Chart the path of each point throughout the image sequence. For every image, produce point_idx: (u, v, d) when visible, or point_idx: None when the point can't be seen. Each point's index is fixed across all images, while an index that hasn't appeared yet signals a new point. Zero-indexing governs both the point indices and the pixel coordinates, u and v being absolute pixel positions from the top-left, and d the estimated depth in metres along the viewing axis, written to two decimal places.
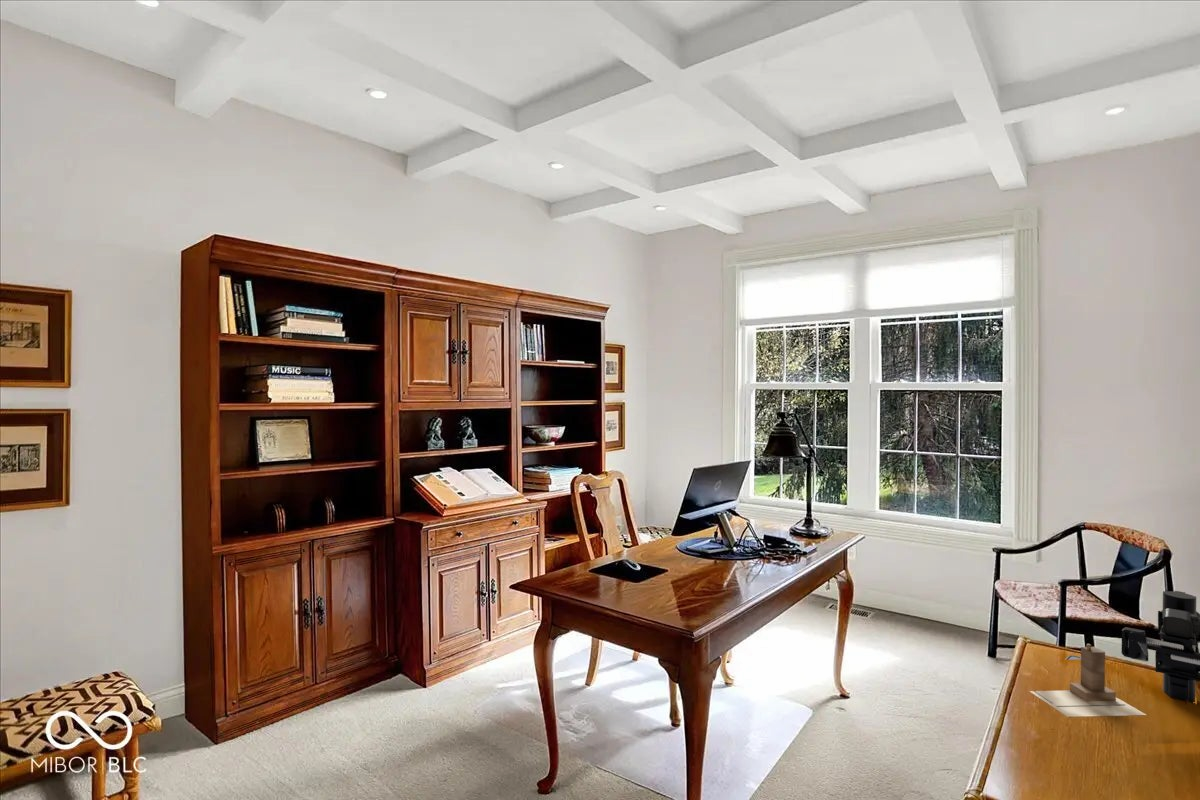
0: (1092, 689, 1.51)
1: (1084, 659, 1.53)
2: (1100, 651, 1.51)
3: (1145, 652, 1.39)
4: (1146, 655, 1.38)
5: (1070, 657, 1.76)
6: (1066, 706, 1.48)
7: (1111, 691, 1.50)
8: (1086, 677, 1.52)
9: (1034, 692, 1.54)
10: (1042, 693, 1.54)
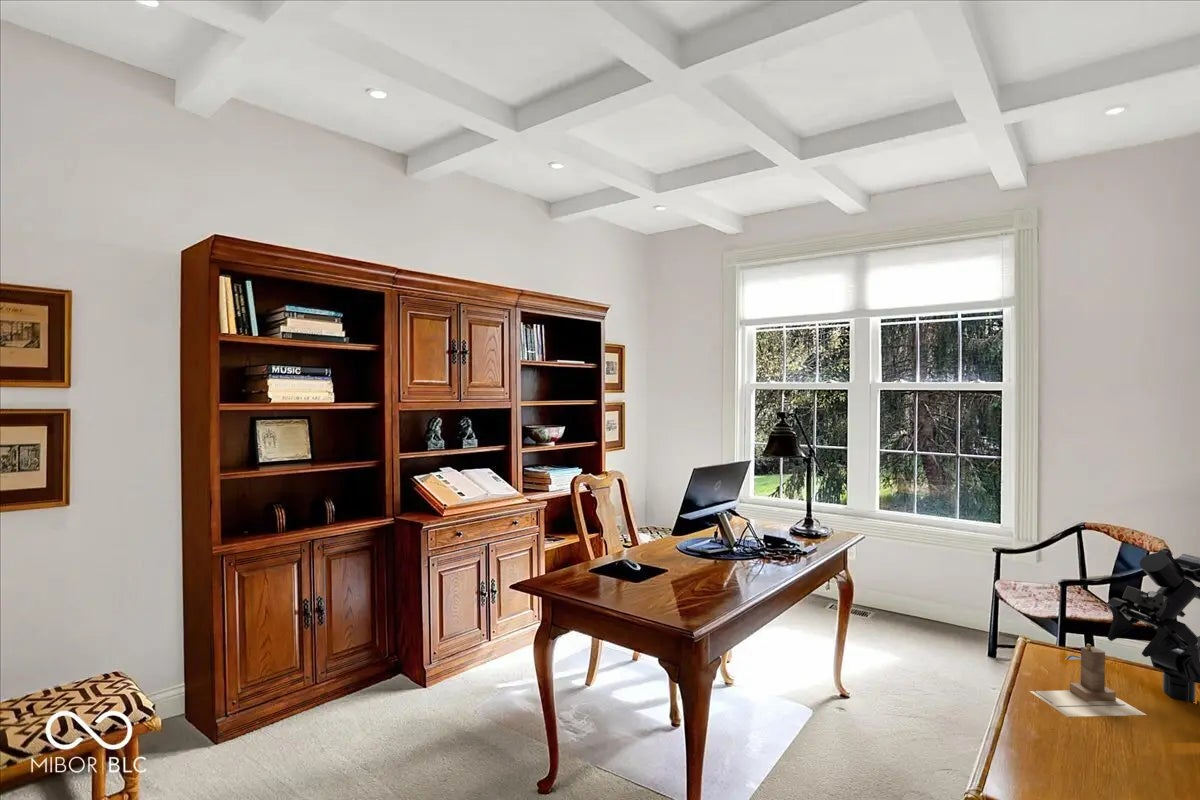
0: (1092, 689, 1.51)
1: (1084, 659, 1.53)
2: (1100, 651, 1.51)
3: (1109, 632, 1.57)
4: (1108, 637, 1.57)
5: (1070, 657, 1.76)
6: (1066, 706, 1.48)
7: (1111, 691, 1.50)
8: (1086, 677, 1.52)
9: (1034, 692, 1.54)
10: (1042, 693, 1.54)
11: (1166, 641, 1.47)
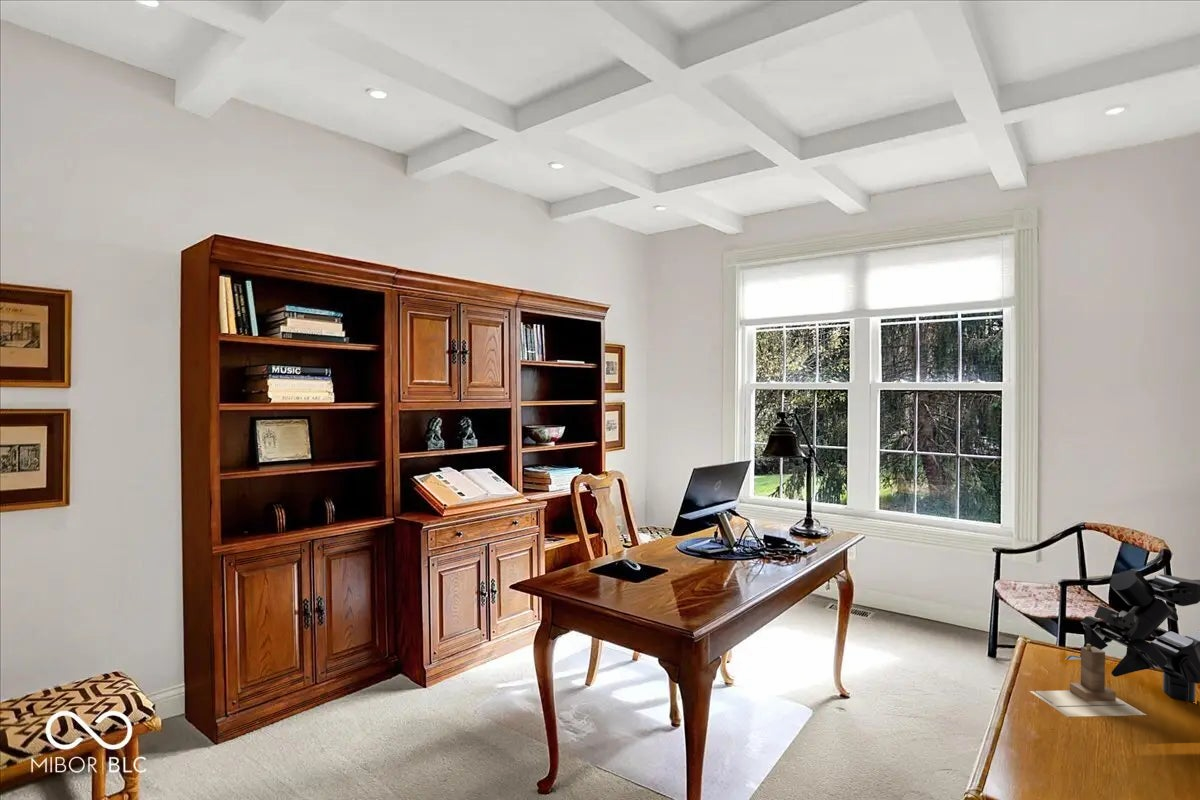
0: (1092, 689, 1.51)
1: (1084, 659, 1.53)
2: (1100, 651, 1.51)
3: None
4: (1080, 655, 1.57)
5: (1070, 657, 1.76)
6: (1066, 706, 1.48)
7: (1111, 691, 1.50)
8: (1086, 677, 1.52)
9: (1034, 692, 1.54)
10: (1042, 693, 1.54)
11: (1136, 661, 1.47)
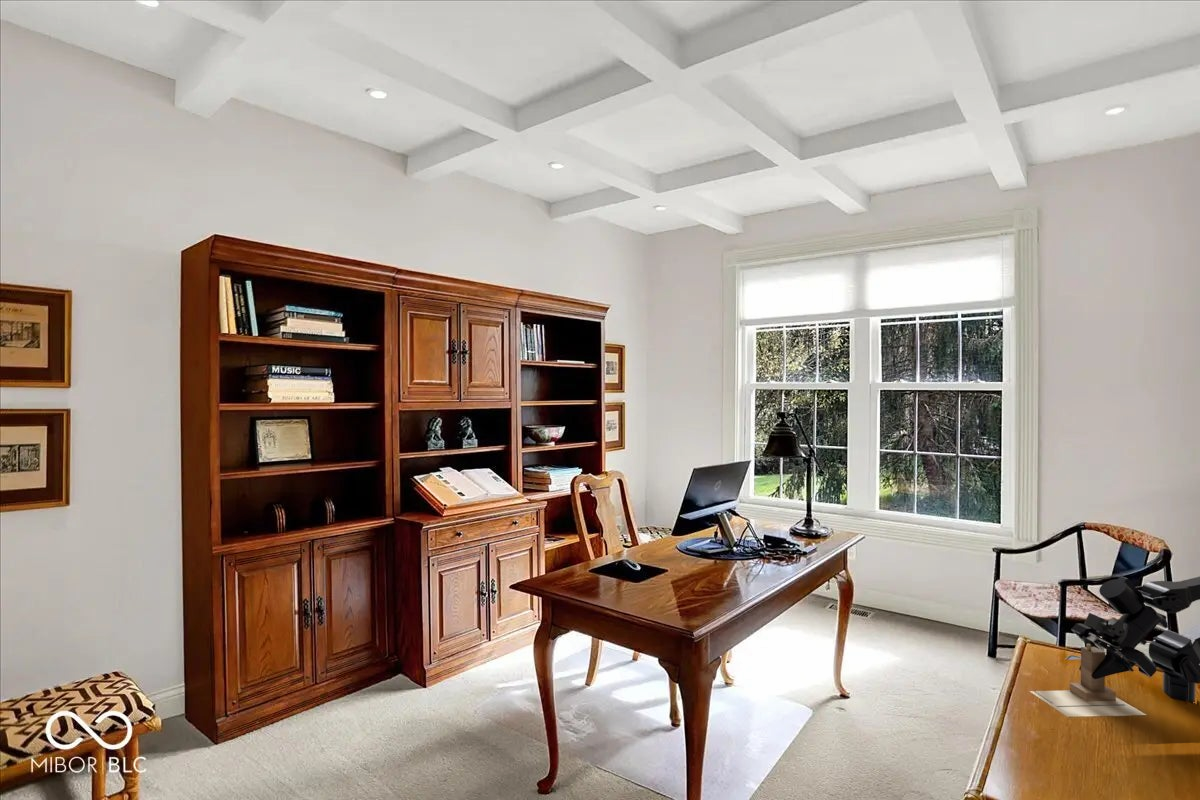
0: (1092, 689, 1.51)
1: (1084, 659, 1.53)
2: (1100, 651, 1.51)
3: None
4: (1080, 668, 1.54)
5: (1070, 657, 1.76)
6: (1066, 706, 1.48)
7: (1111, 691, 1.50)
8: (1086, 677, 1.52)
9: (1034, 692, 1.54)
10: (1042, 693, 1.54)
11: (1115, 664, 1.49)
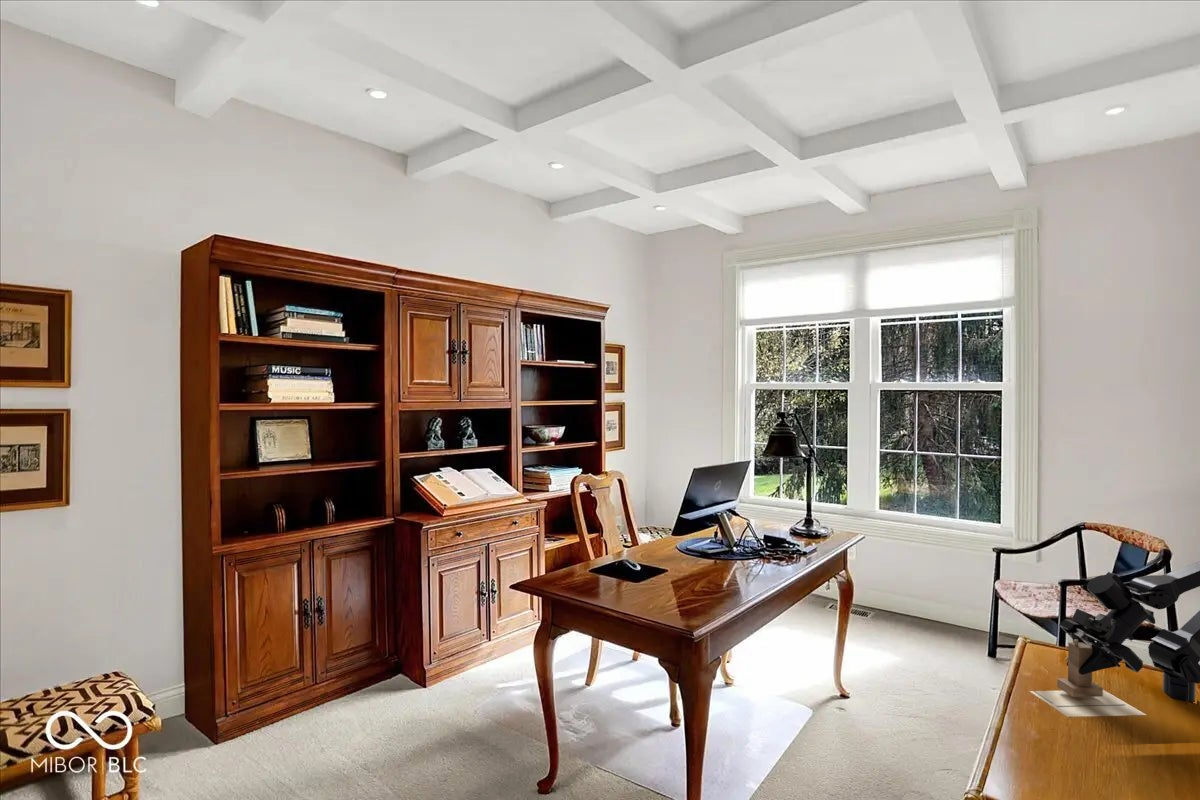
0: (1079, 685, 1.51)
1: (1072, 655, 1.53)
2: (1087, 647, 1.51)
3: None
4: (1067, 664, 1.54)
5: None
6: (1066, 706, 1.48)
7: (1098, 687, 1.50)
8: (1073, 673, 1.52)
9: (1034, 692, 1.54)
10: (1042, 693, 1.54)
11: (1102, 659, 1.49)
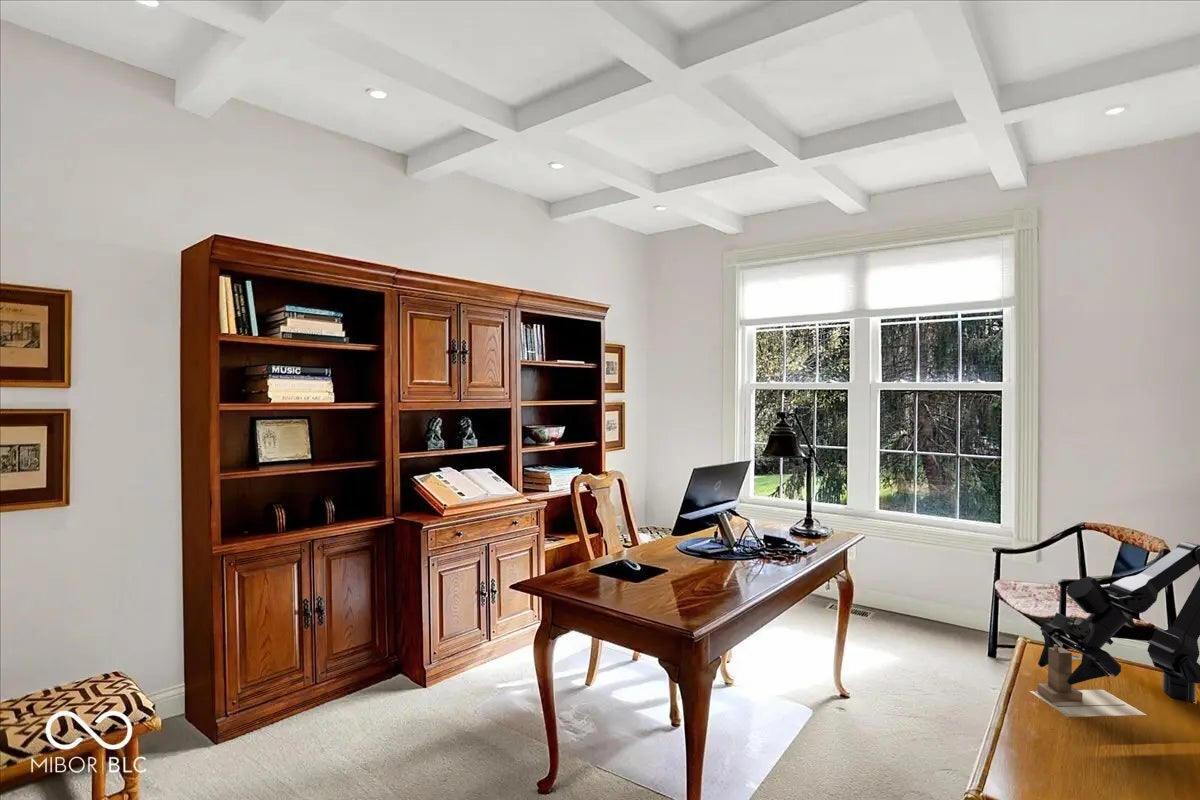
0: (1059, 690, 1.51)
1: (1051, 660, 1.52)
2: (1067, 652, 1.51)
3: (1040, 658, 1.57)
4: (1038, 663, 1.57)
5: None
6: (1066, 706, 1.48)
7: (1078, 692, 1.50)
8: (1053, 678, 1.52)
9: (1034, 692, 1.54)
10: None
11: (1091, 669, 1.46)
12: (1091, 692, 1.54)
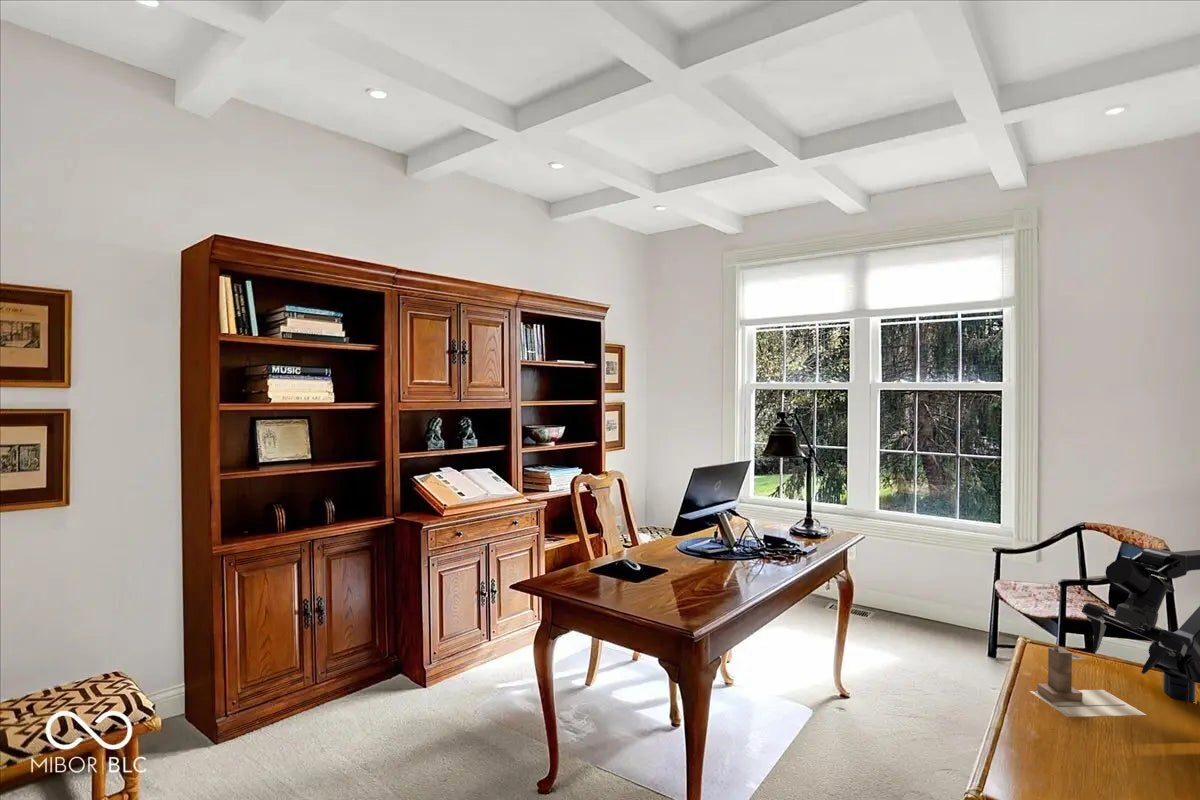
0: (1059, 690, 1.51)
1: (1051, 660, 1.52)
2: (1067, 652, 1.51)
3: (1094, 645, 1.53)
4: (1094, 650, 1.53)
5: None
6: (1066, 706, 1.48)
7: (1078, 692, 1.50)
8: (1053, 678, 1.52)
9: (1034, 692, 1.54)
10: None
11: None
12: (1091, 692, 1.54)
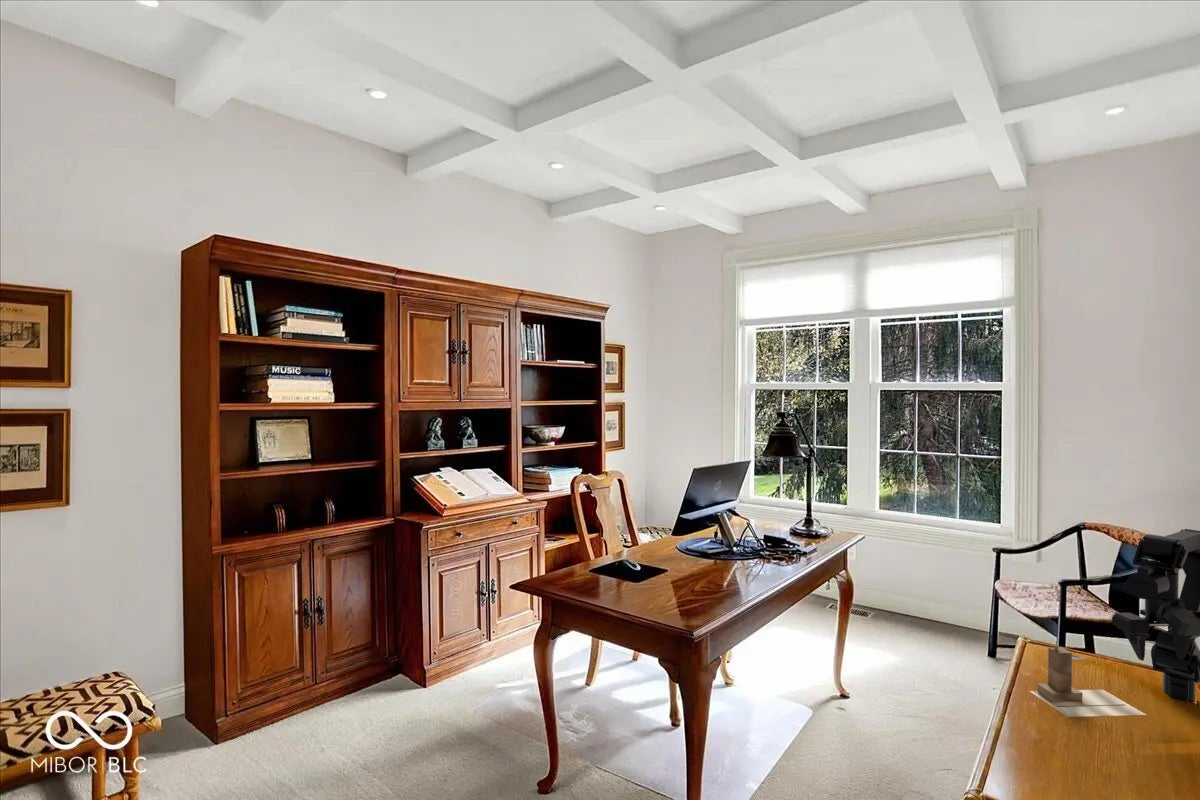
0: (1059, 690, 1.51)
1: (1051, 660, 1.52)
2: (1067, 652, 1.51)
3: (1142, 655, 1.47)
4: (1142, 659, 1.47)
5: None
6: (1066, 706, 1.48)
7: (1078, 692, 1.50)
8: (1053, 678, 1.52)
9: (1034, 692, 1.54)
10: None
11: None
12: (1091, 692, 1.54)
